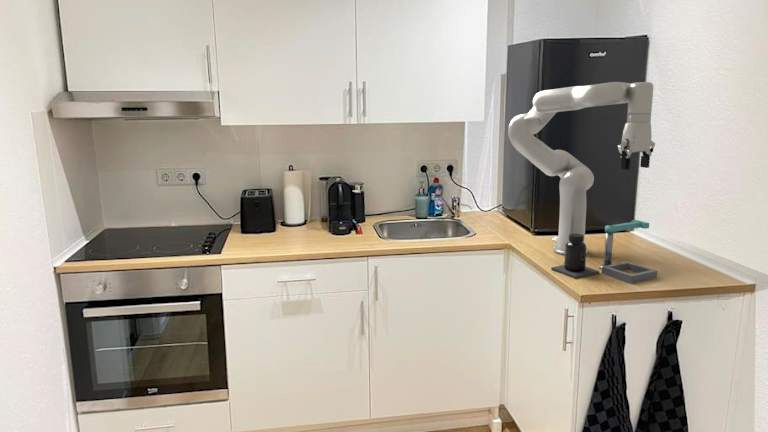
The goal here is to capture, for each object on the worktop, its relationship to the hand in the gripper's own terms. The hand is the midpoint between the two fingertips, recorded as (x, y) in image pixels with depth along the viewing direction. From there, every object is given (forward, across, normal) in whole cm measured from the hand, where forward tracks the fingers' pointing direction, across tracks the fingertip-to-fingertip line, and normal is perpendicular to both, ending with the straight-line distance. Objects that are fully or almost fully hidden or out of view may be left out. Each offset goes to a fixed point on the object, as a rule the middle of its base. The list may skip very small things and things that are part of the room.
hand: (635, 168), depth 198 cm
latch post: (+33, +15, +4) cm, 37 cm away
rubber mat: (+33, +27, +1) cm, 43 cm away
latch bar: (+20, +8, +4) cm, 22 cm away
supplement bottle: (+33, +27, +1) cm, 42 cm away
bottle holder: (+33, +15, +13) cm, 39 cm away
